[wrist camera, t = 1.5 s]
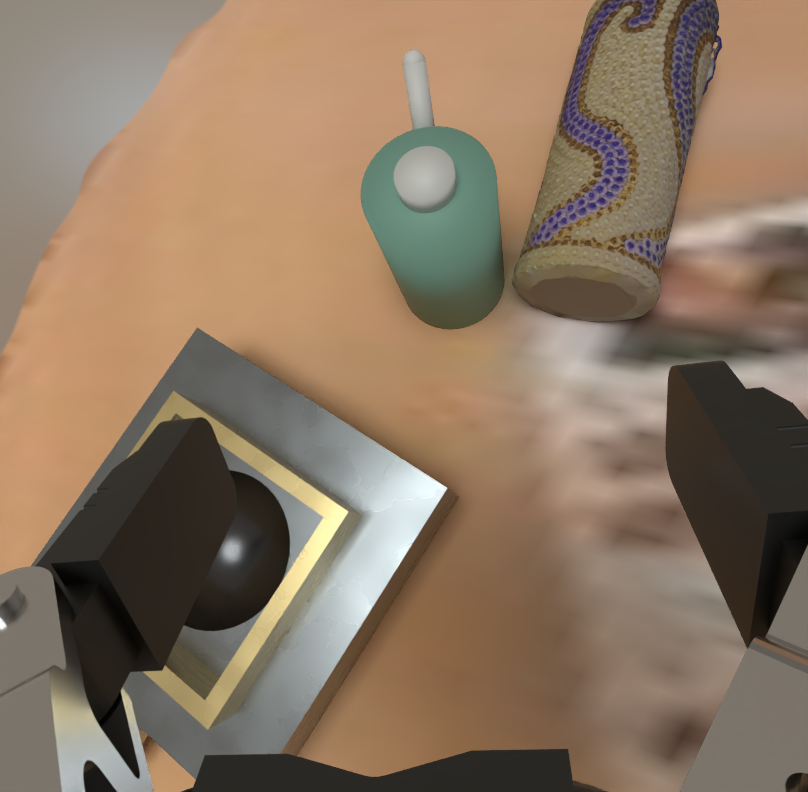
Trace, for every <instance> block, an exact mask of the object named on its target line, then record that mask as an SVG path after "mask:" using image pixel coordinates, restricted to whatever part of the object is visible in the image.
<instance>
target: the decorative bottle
mask: <svg viewBox="0 0 808 792" xmlns="http://www.w3.org/2000/svg"><path fill="white" fill-rule="evenodd" d="M718 21H719V12H718V7H717V3H716V0H596V2H595V3H594V4H593V6H592V7H591V9H590V11H589V12H588V15H587V18H586V22H585V26H584V31H583V34H582V36H581V43H580V45H579V47H578V52H577V56H576V59H575V63H574V67H573V70H572V74H571V77H570V80H569V84H568V87H567V90H566V94H565V98H564V102H563V106H562V110H561V113H560V116H559V121H558V125H557V129H556V134H555V136H554V139H553V143H552V146H551V149H550V154H549V158H548V161H547V165H546V170H545V175H544V179H543V181H542V186H541V189H540V191H539V195H538V199H537V203H536V206H535V210H534V212H533V214H532V219H531V223H530V226H529V230H528V233H527V236H526V239H525V243H524V246H523V249H522V251H521V256H520V259H519V261H518V262H517V264H516V266H515V269H514V277H513V278H512V284H513V286H514V288H515V289H516V291H517V292H518V293H519V294H520V295H521V296H522V297H523V299H524V300H527V301H528V302H529V303H530V304H531V305H532V306H536V307H538V308H540V309H542V310H544V311H546V312H549V313H551V314H554V315H557V316H560V317H568V318H574V319H579V320H587V321H595V322H603V321H617V320H627V319H634V318H637V317H640V316H643V315H644V314H645V313H646V312H648V311H649V310H650V309H651V308H652V307H653V306H654V305H656V303H657V301H658V298H659V296H660V292H661V288H660V278H661V274H662V261H663V259H664V256H665V253H666V245H667V242H668V239H669V235H670V231H671V227H672V222H673V218H674V213H675V208H676V203H677V199H678V194H679V190H680V187H681V183H682V177H683V174H684V169H685V163H686V159H687V155H688V151H689V148H690V144H691V138H692V136H693V132H694V128H695V123H696V118H697V114H698V111H699V108H700V104H701V98H702V95H703V94H704V93H705V91H706V90H707V86H708V83H709V81H710V80H711V79H712V78H713V74H714V70H715V61H716V58H717V55H718V53H719V51H720V49H721V48H722V43H721V38H720V37H719V36H718V35H717V31H718V29H719V25H718ZM714 42H717V43H718V46H717V48H716V49H712V48H713V45H714ZM713 51H714V58H713V59H711V53H712V52H713Z"/></svg>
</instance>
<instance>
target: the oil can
mask: <svg viewBox="0 0 808 792" xmlns="http://www.w3.org/2000/svg"><path fill="white" fill-rule="evenodd" d="M403 69H404V75H405V82H406V88H407V94H408V100H409V107H410V113H411V119H412V126H413V130H412V131H409V132H406V133H404V134H402V135H400V136H398V137H396V138H395V139H393V140H391V141H390V142H389V143H387V144H386V145H385V146H384V147H383V148H382V149H381V150H380V151H379V152H378V153H377V154H376V155H375V157H374V158H373V159H372V161H371V162H370V164H369V166H368V167H367V170H366V172H365V174H364V177H363V181H362V186H361V203H362V208H363V212H364V214H365V216H366V219H367V221H368V223H369V225H370V227H371V229H372V231H373V233H374V235H375V237H376V240H377V242H378V244H379V246H380V248H381V250H382V252H383V254H384V256H385V258H386V260H387V262H388V265H389V267H390V269H391V271H392V273H393V275H394V277H395V279H396V281H397V283H398V285H399V287H400V290H401V292H402V294H403V296H404V298H405V300H406V302H407V304H408V306H409V308H410V309H411V311H412V312H413V313H414V314H415V315H416V316H417V317H418V318H419V319H420V320H422V321H423V322H425V323H427V324H429V325H431V326H434V327H437V328H442V329H459V328H464V327H467V326H471V325H473V324H475V323H477V322H479V321H480V320H482V319H483V318H485V317H486V316H487V315H488V314H489V313H490V312H491V311H492V310H493V309H494V307H495V306H496V305H497V303H498V301H499V299H500V297H501V295H502V292H503V288H504V266H503V254H502V241H501V228H500V215H499V203H498V190H497V177H496V171H495V166H494V163H493V161H492V158H491V157H490V155H489V153H488V152H487V150H486V149H485V148H484V146H483V145H482V144H481V143H480V142H479V141H477V140H476V139H475V138H473V137H472V136H470V135H468V134H467V133H465V132H462V131H460V130H457V129H453V128H449V127H440V126H437V127H435V125H434V118H433V111H432V104H431V97H430V90H429V83H428V76H427V69H426V61H425V57H424V55H423V54H422V53H421V52H420V51H418V50H411V51H409V52H407V53H406V55H405V56H404V58H403Z"/></svg>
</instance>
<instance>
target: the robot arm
mask: <svg viewBox="0 0 808 792" xmlns="http://www.w3.org/2000/svg"><path fill="white" fill-rule="evenodd" d="M666 459H667V466H668V471H669V475H670V478H671V481H672V484H673V486H674V488H675V490H676V493H677V495H678V497H679V499H680V501H681V504H682V506H683V508H684V510H685V512H686V515H687V517H688V519H689V521H690V523H691V526H692V528H693V530H694V532H695V534H696V537H697V539H698V541H699V543H700V545H701V548H702V550H703V552H704V554H705V556H706V559H707V561H708V563H709V565H710V567H711V570H712V572H713V574H714V576H715V578H716V581H717V583H718V585H719V587H720V589H721V592H722V594H723V596H724V598H725V600H726V603H727V605H728V607H729V609H730V611H731V614H732V616H733V618H734V620H735V622H736V625H737V627H738V629H739V631H740V633H741V636H742V638H743V640H744V642H745V644H746V647H747V651H746V653H745V655H744V657H743V659H742V662H741V664H740V666H739V668H738V670H737V672H736V674H735V676H734V678H733V681H732V683H731V685H730V687H729V689H728V691H727V693H726V695H725V697H724V700H723V702H722V704H721V706H720V708H719V710H718V712H717V714H716V716H715V718H714V721H713V723H712V725H711V727H710V729H709V731H708V733H707V735H706V737H705V740H704V742H703V744H702V746H701V748H700V750H699V752H698V754H697V756H696V759H695V761H694V763H693V765H692V767H691V769H690V771H689V773H688V775H687V778H686V780H685V782H684V784H683V786H682V788H681V790H680V792H808V420H807V419H806V418H805V417H804V415H803V414H802V413H801V412H800V411H799V410H798V408H797V407H796V406H795V405H794V404H793V403H791V402H790V401H788V400H786V399H784V398H782V397H780V396H778V395H777V394H775V393H773V392H771V391H769V390H767V389H765V388H764V387H761V388H751V389H746V388H745V387H744V386H743V384H742V383H741V382H740V380H739V379H738V378H737V377H736V375H735V374H734V373H733V371H732V370H731V369H730V368H729V366H728V365H727V364H726V363H725V362H724V361H712V362H703V363H694V364H685V365H676V366H672V367H671V369H670V372H669V377H668V395H667V421H666ZM236 508H237V493H236V487H235V484H234V481H233V478H232V476H231V473H230V471H229V468H228V466H227V463H226V461H225V458H224V456H223V453H222V451H221V448H220V445H219V443H218V440H217V438H216V435H215V433H214V430H213V428H212V426H211V424H210V423H209V421H208V420H206V419H205V418H203V417H197V418H188V419H179V420H170V421H163V422H161V423H159V424H158V425H157V426H156V428H155V429H154V430H153V432H152V433H151V434H150V435H149V437H148V438H147V439H146V441H145V442H144V443H143V444H142V446H141V447H140V448H139V450H138V451H136V452H135V453H133V454H132V455H131V456H129V457H128V458H127V459H125V460H124V461H123V462H121V463H120V464H119V465H117V466H116V467H115V468H113V469H112V471H111V472H110V473H109V474H108V476H107V477H106V478H105V479H104V481H103V482H102V483H101V484H100V486H99V487H98V488H97V493H93V494H92V496H91V497H90V498H89V499H88V501H87V502H86V503H85V504H84V510H80V511H79V512H78V513H77V514H76V516H75V517H74V518H73V519H72V521H71V522H70V523H69V524H68V526H67V527H66V528H65V530H64V531H63V532H62V533H61V535H60V536H59V537H58V538H57V540H56V541H55V542H54V543H53V545H52V546H51V547H50V548H49V550H48V551H47V552H46V553H45V555H44V556H43V557H42V558H41V560H40V561H39V562H38V563H37V565H36V566H31V567H23V568H19V569H15V570H12V571H9V572H6V573H4V574H1V575H0V792H154V789H153V785H152V782H151V778H150V774H149V770H148V766H147V762H146V758H145V754H144V750H143V746H142V742H141V738H140V734H139V730H138V726H137V722H136V718H135V714H134V710H133V706H132V703H131V699H130V697H129V694H128V693H127V691H126V690H125V688H124V687H123V685H124V683H125V681H126V679H127V678H128V676H129V674H130V672H143V671H162V670H163V668H164V666H165V664H166V662H167V660H168V657H169V655H170V653H171V651H172V649H173V647H174V645H175V643H176V640H177V638H178V636H179V634H180V632H181V630H182V628H183V626H184V623H185V621H186V619H187V617H188V615H189V613H190V611H191V609H192V606H193V604H194V602H195V600H196V598H197V596H198V594H199V592H200V589H201V587H202V585H203V583H204V581H205V579H206V577H207V575H208V572H209V570H210V568H211V566H212V564H213V562H214V560H215V558H216V555H217V553H218V551H219V549H220V547H221V545H222V543H223V541H224V538H225V536H226V534H227V532H228V530H229V528H230V526H231V524H232V521H233V519H234V517H235V513H236ZM182 792H607V791H604V790H602V789H599V788H597V787H594V786H591V785H588V784H584V783H580V782H577V781H573V780H572V774H571V767H570V760H569V753H568V749H547V750H485V751H469V752H466V753H462V754H459V755H455V756H452V757H448V758H445V759H441V760H438V761H434V762H431V763H427V764H424V765H420V766H417V767H413V768H410V769H406V770H403V771H399V772H396V773H392V774H389V775H385V776H380V777H369V776H364V775H360V774H357V773H353V772H350V771H346V770H343V769H339V768H336V767H332V766H329V765H325V764H322V763H318V762H315V761H311V760H308V759H304V758H301V757H297V756H294V755H290V754H239V755H205V756H204V759H203V762H202V764H201V767H200V770H199V773H198V776H197V778H196V781H195V784H194V787H193V788H190V789H187V790H184V791H182Z"/></svg>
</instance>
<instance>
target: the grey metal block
mask: <svg viewBox="0 0 808 792" xmlns="http://www.w3.org/2000/svg"><path fill="white" fill-rule="evenodd" d="M197 417H203V418H205V419H206V420H208V421H209V423H210V424H211V426H212V428H213V430H214V433H215V435H216V438H217V440H218V443H219V445H220V448H221V451H222V453H223V456H224V458H225V461H226V463H227V466H228V468H229V471H230V473H231V476H232V478H233V481H234V484H235V487H236V493H237V508H236V513H235V517H234V519H233V521H232V524H231V526H230V528H229V530H228V532H227V534H226V536H225V538H224V541H223V543H222V545H221V547H220V549H219V551H218V553H217V555H216V558H215V560H214V562H213V564H212V566H211V568H210V570H209V572H208V575H207V577H206V579H205V581H204V583H203V585H202V587H201V589H200V592H199V594H198V596H197V598H196V600H195V602H194V604H193V606H192V609H191V611H190V613H189V615H188V617H187V619H186V621H185V623H184V626H183V628H182V630H181V632H180V634H179V636H178V638H177V640H176V643H175V645H174V647H173V649H172V651H171V653H170V655H169V657H168V660H167V662H166V664H165V666H164V668H163V670H162V671H143V672H130V674H129V676H128V678H127V679H126V681H125V683H124V685H123V687H124V688H125V690H126V691H127V693H128V694H129V697H130V699H131V703H132V706H133V710H134V714H135V718H136V722H137V726H138V730H139V734H140V738H141V742H142V744H143V742H144V741H145V739H146V738H147V736H148V735H149V736H150V737H151V738H152V739H153V740H154V741H155V742H156V743H157V744H158V745H159V746H160V747H162V748H163V749H164V750H165V751H166V752H167V753H168V754H169V755H170V756H171V757H172V758H173V759H174V760H175V761H177V762H178V763H179V764H180V765H181V766H182V767H183V768H184V769H185V770H186V771H187V772H188V773H189V774H191V775H192V776H193V777H194V778H195V779H196V778H197V776H198V773H199V770H200V767H201V764H202V762H203V759H204V756H205V755H239V754H290V755H294V756H297V755H298V753H299V752H300V750H301V748H302V747H303V745H304V744H305V742H306V740H307V739H308V737H309V736H310V734H311V732H312V731H313V729H314V728H315V726H316V724H317V723H318V721H319V720H320V718H321V716H322V715H323V713H324V712H325V710H326V708H327V707H328V705H329V704H330V702H331V700H332V699H333V697H334V696H335V694H336V692H337V691H338V689H339V688H340V686H341V684H342V683H343V681H344V680H345V678H346V676H347V675H348V673H349V672H350V670H351V668H352V667H353V665H354V664H355V662H356V660H357V659H358V657H359V656H360V654H361V652H362V651H363V649H364V648H365V646H366V644H367V643H368V641H369V639H370V638H371V636H372V635H373V633H374V631H375V630H376V628H377V627H378V625H379V623H380V622H381V620H382V619H383V617H384V615H385V614H386V612H387V611H388V609H389V607H390V606H391V604H392V603H393V601H394V599H395V598H396V596H397V595H398V593H399V591H400V590H401V588H402V587H403V585H404V583H405V582H406V580H407V579H408V577H409V575H410V574H411V572H412V571H413V569H414V567H415V566H416V564H417V563H418V561H419V559H420V558H421V556H422V555H423V553H424V551H425V550H426V548H427V547H428V545H429V543H430V542H431V540H432V539H433V537H434V535H435V534H436V532H437V531H438V529H439V527H440V526H441V524H442V523H443V521H444V519H445V518H446V516H447V515H448V513H449V511H450V510H451V508H452V507H453V505H454V503H455V502H456V500H457V499H458V496H457V495H456V494H454V493H453V492H452V491H451V490H449V489H448V488H447V487H445V486H443V485H442V484H440V483H439V482H437V481H436V480H434V479H433V478H431V477H429V476H428V475H426V474H425V473H423V472H422V471H420V470H419V469H417V468H415V467H414V466H412V465H411V464H409V463H408V462H406V461H404V460H403V459H401V458H400V457H398V456H397V455H395V454H394V453H392V452H390V451H389V450H387V449H386V448H384V447H383V446H381V445H380V444H378V443H376V442H375V441H373V440H372V439H370V438H369V437H367V436H366V435H364V434H362V433H361V432H359V431H358V430H356V429H355V428H353V427H351V426H350V425H348V424H347V423H345V422H344V421H342V420H341V419H339V418H337V417H336V416H334V415H333V414H331V413H330V412H328V411H327V410H325V409H323V408H322V407H320V406H319V405H317V404H316V403H314V402H312V401H311V400H309V399H308V398H306V397H305V396H303V395H302V394H300V393H298V392H297V391H295V390H294V389H292V388H291V387H289V386H288V385H286V384H284V383H283V382H281V381H280V380H278V379H277V378H275V377H273V376H272V375H270V374H269V373H267V372H266V371H264V370H263V369H261V368H259V367H258V366H256V365H255V364H253V363H252V362H250V361H249V360H247V359H245V358H244V357H242V356H241V355H239V354H238V353H236V352H234V351H233V350H231V349H230V348H228V347H227V346H225V345H224V344H222V343H220V342H219V341H217V340H216V339H214V338H213V337H211V336H210V335H208V334H206V333H205V332H203V331H202V330H200V329H199V328H197V329H196V330H195V332H194V333H193V334H192V336H191V337H190V339H189V340H188V342H187V343H186V344H185V346H184V347H183V349H182V350H181V352H180V353H179V355H178V356H177V357H176V359H175V360H174V362H173V363H172V365H171V366H170V367H169V369H168V370H167V372H166V373H165V375H164V376H163V377H162V379H161V380H160V382H159V383H158V385H157V386H156V387H155V389H154V390H153V392H152V393H151V395H150V396H149V398H148V399H147V400H146V402H145V403H144V405H143V406H142V408H141V409H140V410H139V412H138V413H137V415H136V416H135V418H134V419H133V420H132V422H131V423H130V425H129V426H128V428H127V429H126V430H125V432H124V433H123V435H122V436H121V438H120V439H119V441H118V442H117V443H116V445H115V446H114V448H113V449H112V451H111V452H110V453H109V455H108V456H107V458H106V459H105V461H104V462H103V463H102V465H101V466H100V468H99V469H98V471H97V472H96V473H95V475H94V476H93V478H92V479H91V481H90V482H89V484H88V485H87V486H86V488H85V489H84V491H83V492H82V494H81V495H80V496H79V498H78V499H77V501H76V502H75V504H74V505H73V506H72V508H71V509H70V511H69V512H68V514H67V515H66V517H65V518H64V519H63V521H62V522H61V524H60V525H59V527H58V528H57V529H56V531H55V532H54V534H53V535H52V537H51V538H50V539H49V541H48V542H47V544H46V545H45V547H44V548H43V549H42V551H41V552H40V554H39V555H38V557H37V558H36V560H35V561H34V562H33V564H32V565H31V566H36V565H37V563H38V562H39V561H40V560H41V558H42V557H43V556H44V555H45V553H46V552H47V551H48V550H49V548H50V547H51V546H52V545H53V543H54V542H55V541H56V540H57V538H58V537H59V536H60V535H61V533H62V532H63V531H64V530H65V528H66V527H67V526H68V524H69V523H70V522H71V521H72V519H73V518H74V517H75V516H76V514H77V513H78V512H79V511H80V510H84V504H85V503H86V502H87V501H88V499H89V498H90V497H91V496H92V494H93V493H97V488H98V487H99V486H100V484H101V483H102V482H103V481H104V479H105V478H106V477H107V476H108V474H109V473H110V472H111V471H112V469H113V468H115V467H116V466H117V465H119V464H120V463H121V462H123V461H124V460H125V459H127V458H128V457H129V456H131V455H132V454H133V453H135V452H136V451H138V450H139V448H140V447H141V446H142V444H143V443H144V442H145V441H146V439H147V438H148V437H149V435H150V434H151V433H152V432H153V430H154V429H155V428H156V426H157V425H158V424H159V423H161V422H163V421H170V420H179V419H188V418H197Z"/></svg>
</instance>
